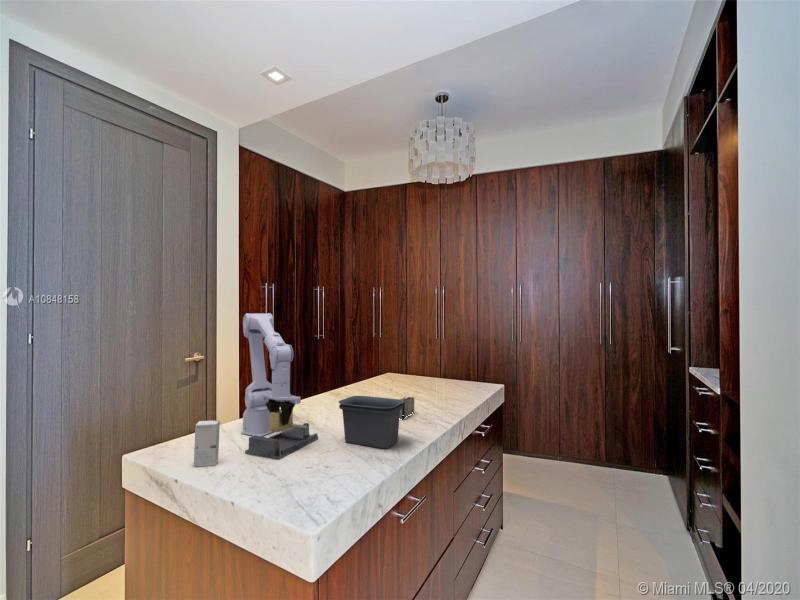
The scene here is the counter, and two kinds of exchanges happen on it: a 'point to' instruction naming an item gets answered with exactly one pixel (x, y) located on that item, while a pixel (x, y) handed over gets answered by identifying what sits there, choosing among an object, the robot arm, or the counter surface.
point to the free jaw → (297, 431)
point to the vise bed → (276, 445)
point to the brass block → (279, 421)
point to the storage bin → (371, 420)
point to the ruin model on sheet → (407, 406)
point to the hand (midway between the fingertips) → (280, 423)
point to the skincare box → (206, 443)
